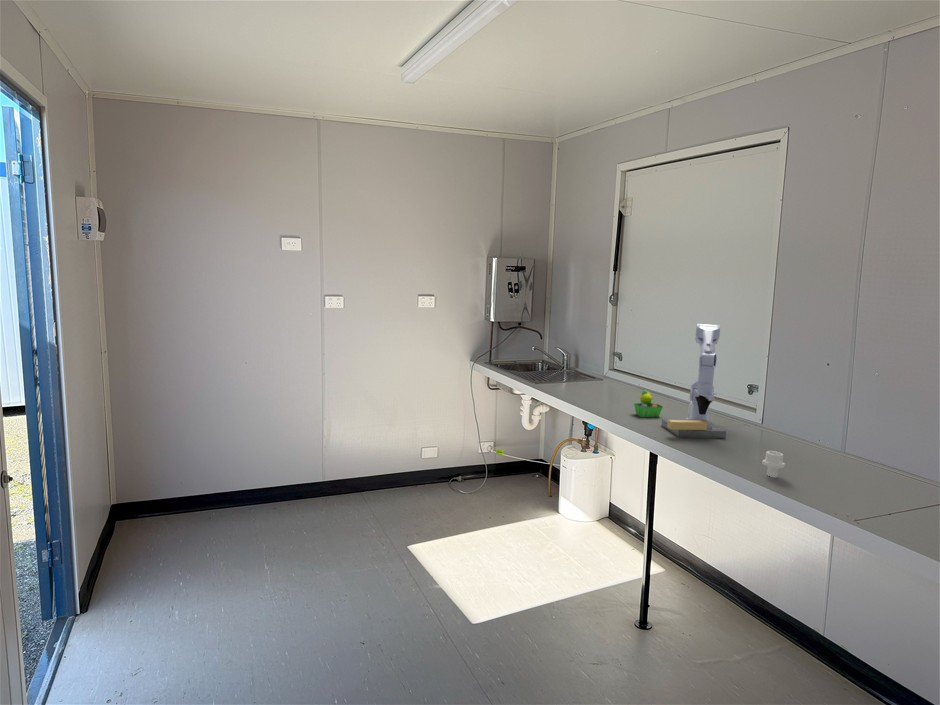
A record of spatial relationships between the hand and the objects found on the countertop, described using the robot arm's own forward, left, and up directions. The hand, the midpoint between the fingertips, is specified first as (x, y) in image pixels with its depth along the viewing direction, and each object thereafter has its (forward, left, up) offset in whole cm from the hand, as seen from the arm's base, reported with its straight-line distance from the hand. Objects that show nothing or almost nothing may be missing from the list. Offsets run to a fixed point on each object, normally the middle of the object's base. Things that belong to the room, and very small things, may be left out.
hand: (702, 414), depth 262 cm
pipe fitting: (+51, +2, -9) cm, 52 cm away
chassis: (-3, -2, -8) cm, 9 cm away
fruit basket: (-30, -12, -9) cm, 33 cm away
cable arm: (+5, -7, -5) cm, 10 cm away
